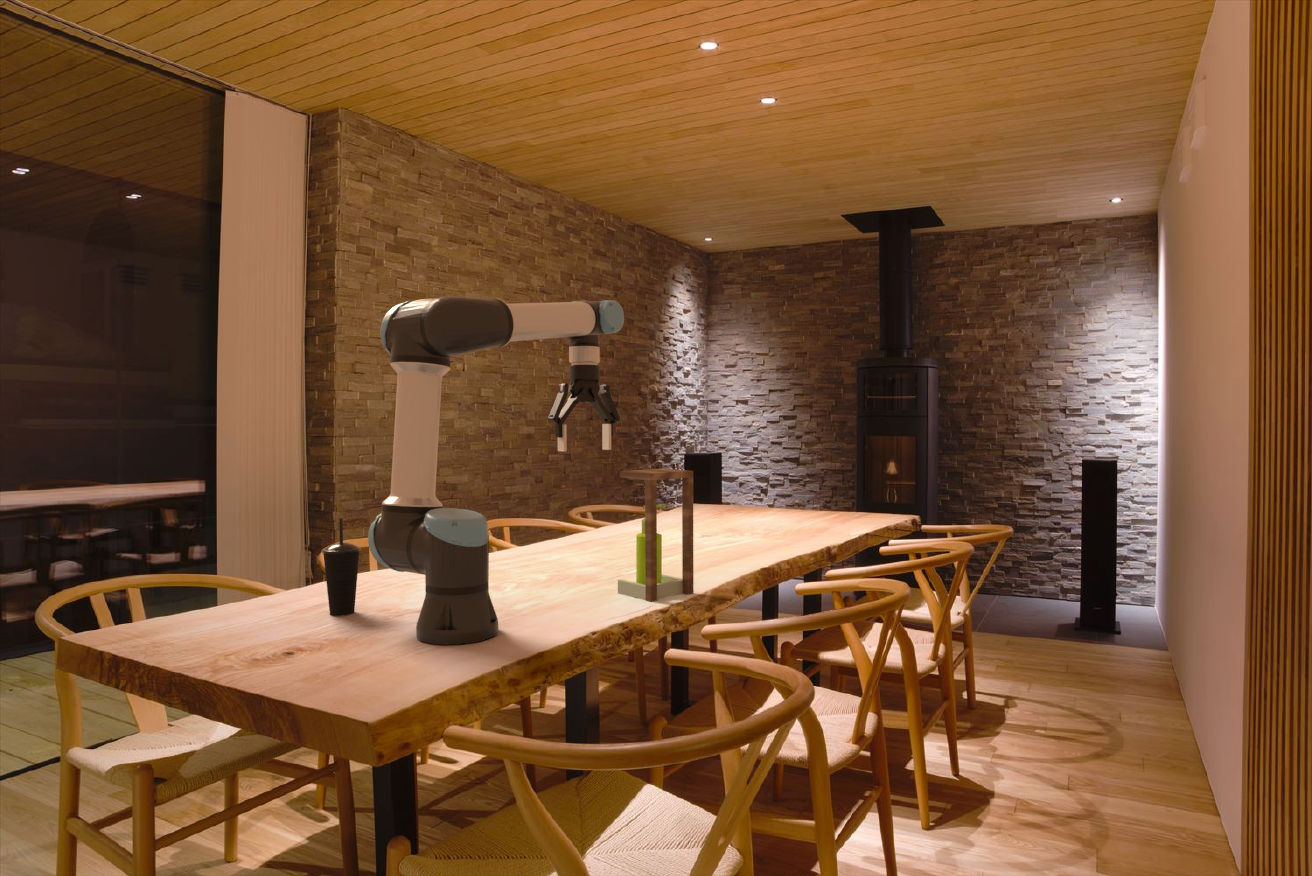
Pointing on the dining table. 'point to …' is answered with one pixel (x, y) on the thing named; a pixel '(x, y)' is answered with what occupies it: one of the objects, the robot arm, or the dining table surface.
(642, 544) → the soap dispenser
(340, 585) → the drinking cup
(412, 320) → the robot arm
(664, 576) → the holder
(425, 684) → the dining table surface
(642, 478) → the wooden post arch
